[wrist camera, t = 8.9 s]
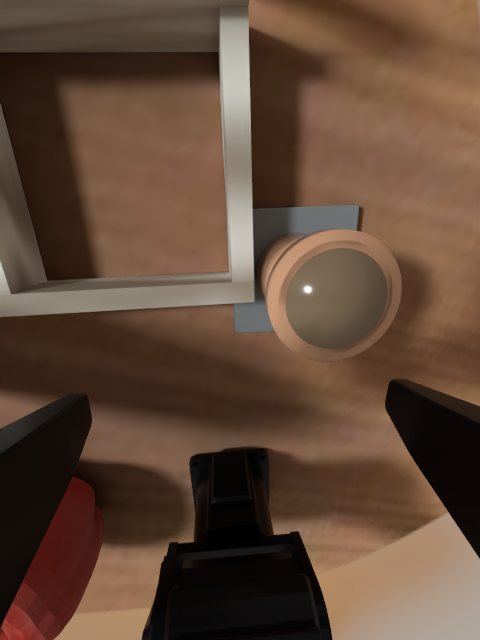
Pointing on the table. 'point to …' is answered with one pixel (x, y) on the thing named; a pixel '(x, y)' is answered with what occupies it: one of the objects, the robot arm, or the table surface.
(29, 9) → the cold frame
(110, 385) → the table surface
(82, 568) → the vegetable
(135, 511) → the table surface
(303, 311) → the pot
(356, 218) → the pad
